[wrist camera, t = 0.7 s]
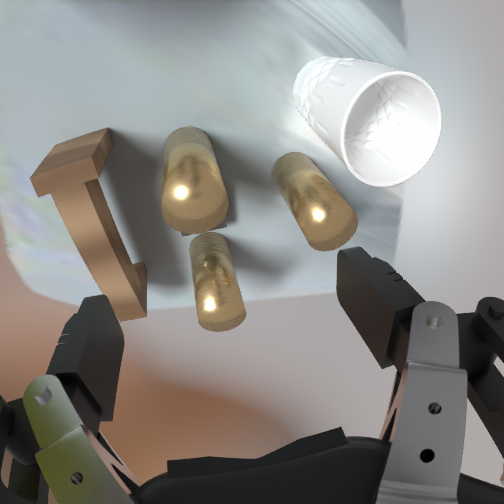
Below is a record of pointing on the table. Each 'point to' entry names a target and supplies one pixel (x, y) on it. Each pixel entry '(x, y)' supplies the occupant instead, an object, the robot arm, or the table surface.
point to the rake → (93, 219)
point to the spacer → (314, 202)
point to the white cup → (370, 116)
